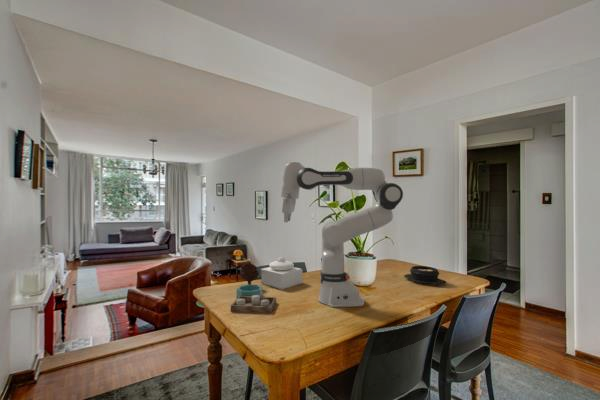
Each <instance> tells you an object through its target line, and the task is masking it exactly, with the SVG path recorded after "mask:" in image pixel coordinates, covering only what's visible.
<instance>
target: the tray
mask: <svg viewBox="0 0 600 400" xmlns="http://www.w3.org/2000/svg"><path fill="white" fill-rule="evenodd" d="M240 298H243V299H245V305H236V304H237V299H240ZM263 299H267V300H269V306H261V300H263ZM276 304H277V297H275V296H272V297H270V296H261V297H260V305H259V306H252V296H239V297H238V298H237V297H236V299H235V300H234V301H233V303H232V304H231V305H230V312H237V313H238V312H239V313H259V314H261V313H262V314H272V312H273V310H274V308H275V307H276Z"/></svg>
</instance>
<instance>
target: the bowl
mask: <svg viewBox="0 0 600 400" xmlns="http://www.w3.org/2000/svg"><path fill="white" fill-rule="evenodd" d="M253 295H259V296H260V297H263V286H261V285H259V284H251V285H250V284H248V283H247V284H244V285H239V286H238V287H237V288H236V299H237V298H238V297H239V296H253Z"/></svg>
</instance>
